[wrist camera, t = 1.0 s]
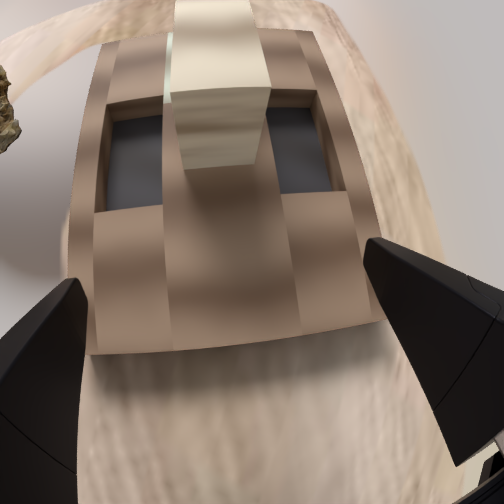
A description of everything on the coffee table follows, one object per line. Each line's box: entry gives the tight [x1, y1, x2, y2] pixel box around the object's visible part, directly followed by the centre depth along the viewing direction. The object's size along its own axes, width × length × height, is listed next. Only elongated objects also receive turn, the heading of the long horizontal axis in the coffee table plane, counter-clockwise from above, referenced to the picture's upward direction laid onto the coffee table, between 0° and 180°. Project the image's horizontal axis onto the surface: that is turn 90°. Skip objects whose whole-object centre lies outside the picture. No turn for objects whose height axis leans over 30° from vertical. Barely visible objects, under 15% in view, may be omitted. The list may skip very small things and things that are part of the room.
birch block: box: [170, 0, 272, 170], centre depth 19 cm, size 10×5×8 cm, turn 7°
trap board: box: [68, 28, 387, 355], centre depth 24 cm, size 29×22×3 cm
